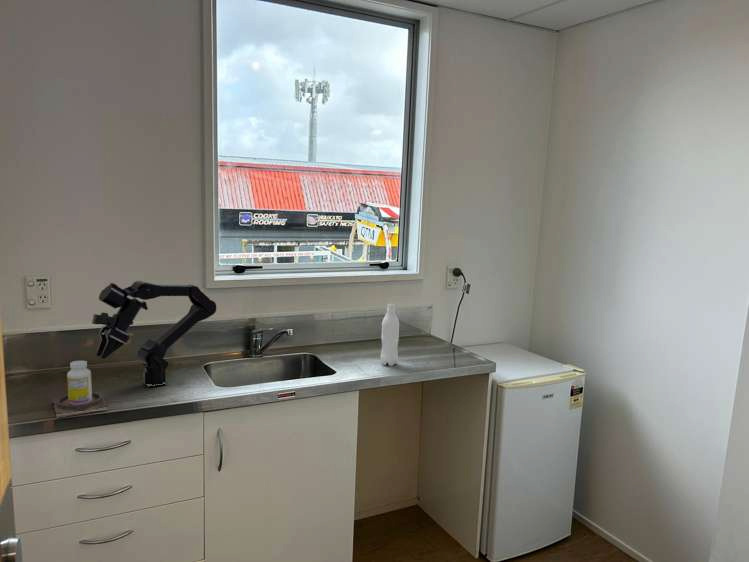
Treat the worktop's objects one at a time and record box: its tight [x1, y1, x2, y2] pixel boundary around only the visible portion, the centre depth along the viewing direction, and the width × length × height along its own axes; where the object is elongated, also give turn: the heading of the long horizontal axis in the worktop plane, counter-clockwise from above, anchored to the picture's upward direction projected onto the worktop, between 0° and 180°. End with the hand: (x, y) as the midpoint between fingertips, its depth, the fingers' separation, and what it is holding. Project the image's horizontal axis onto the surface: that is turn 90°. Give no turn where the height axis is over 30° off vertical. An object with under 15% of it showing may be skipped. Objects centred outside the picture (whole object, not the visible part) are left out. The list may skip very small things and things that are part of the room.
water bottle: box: [380, 302, 400, 367], centre depth 237 cm, size 7×7×25 cm
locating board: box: [52, 391, 109, 414], centre depth 182 cm, size 14×14×3 cm
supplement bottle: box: [66, 360, 93, 405], centre depth 181 cm, size 7×7×13 cm
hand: (99, 357), depth 190 cm, fingers open, 9 cm apart
